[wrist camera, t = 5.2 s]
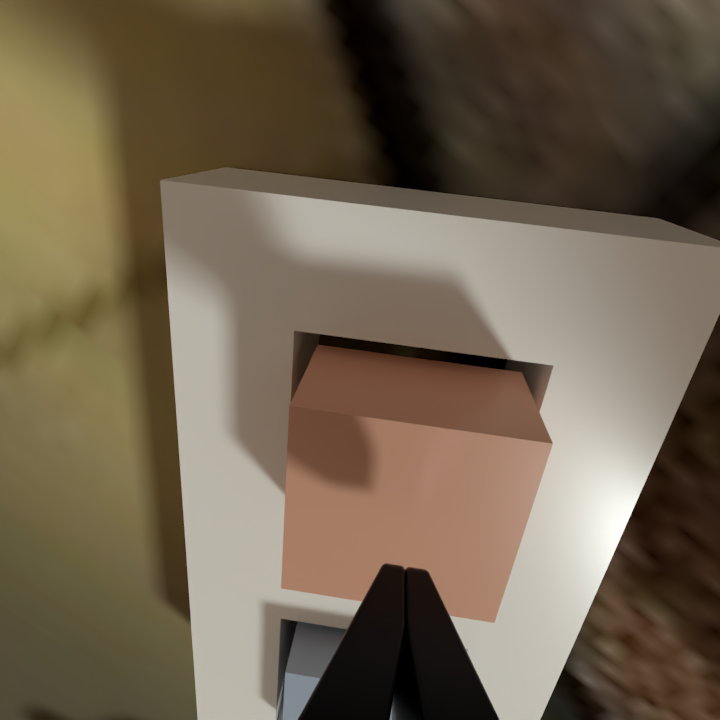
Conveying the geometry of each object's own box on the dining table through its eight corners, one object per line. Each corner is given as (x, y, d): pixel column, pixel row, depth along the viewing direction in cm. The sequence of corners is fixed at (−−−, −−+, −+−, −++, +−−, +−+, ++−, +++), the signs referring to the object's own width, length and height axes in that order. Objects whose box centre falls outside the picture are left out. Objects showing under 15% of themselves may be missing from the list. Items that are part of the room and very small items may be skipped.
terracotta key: (521, 372, 12) (552, 443, 9) (479, 528, 14) (494, 623, 11) (317, 344, 12) (289, 405, 9) (306, 501, 14) (280, 588, 12)
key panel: (657, 218, 13) (747, 250, 10) (486, 703, 23) (500, 810, 19) (226, 166, 14) (159, 180, 10) (233, 660, 23) (200, 756, 20)
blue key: (446, 611, 17) (451, 700, 15) (423, 697, 19) (425, 789, 17) (305, 588, 17) (285, 672, 15) (299, 675, 20) (279, 762, 17)
